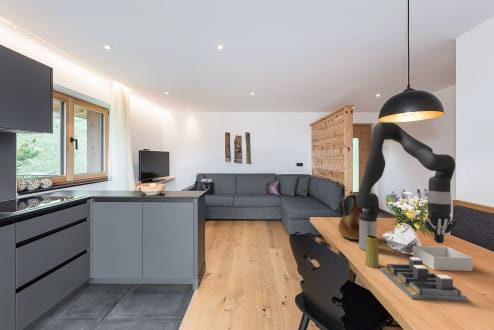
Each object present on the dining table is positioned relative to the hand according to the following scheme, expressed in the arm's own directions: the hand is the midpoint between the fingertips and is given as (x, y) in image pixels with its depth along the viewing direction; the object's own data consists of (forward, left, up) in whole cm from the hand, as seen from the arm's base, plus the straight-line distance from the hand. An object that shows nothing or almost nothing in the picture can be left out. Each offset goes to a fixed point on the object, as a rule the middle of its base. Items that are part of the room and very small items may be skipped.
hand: (438, 242), depth 94 cm
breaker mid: (0, -8, -16) cm, 18 cm away
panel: (0, -8, -18) cm, 20 cm away
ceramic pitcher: (-58, -11, -18) cm, 62 cm away
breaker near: (+8, -4, -16) cm, 18 cm away
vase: (-17, -19, -18) cm, 31 cm away
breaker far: (-8, -4, -16) cm, 19 cm away
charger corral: (-21, +17, -18) cm, 32 cm away
